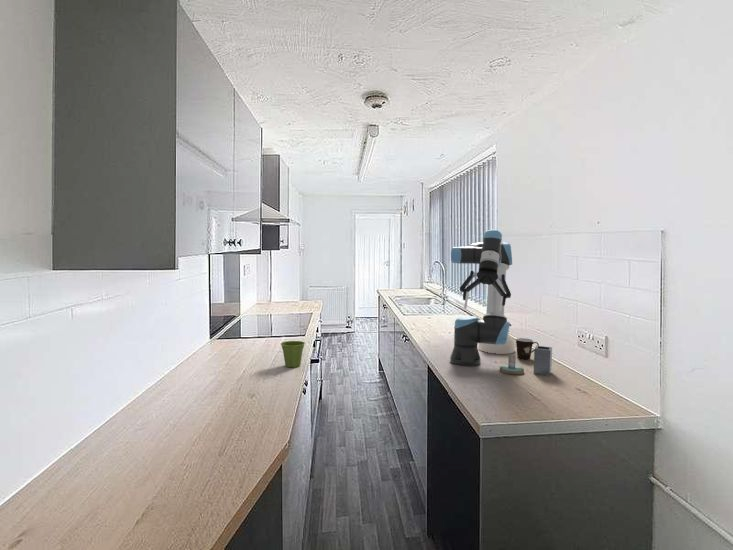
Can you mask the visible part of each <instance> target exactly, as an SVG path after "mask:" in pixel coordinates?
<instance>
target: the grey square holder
mask: <svg viewBox="0 0 733 550" xmlns="http://www.w3.org/2000/svg"><path fill="white" fill-rule="evenodd" d="M533 350H534V352H533V353H534V354H533V374H534V375H541V376H546V375H548V376H547V377H550V376H551V374H552V363H553V362H552V361H553V347H551V346H543V345H539V346H538V345H536V346H535V347H534V348H533Z"/></svg>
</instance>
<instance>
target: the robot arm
mask: <svg viewBox="0 0 733 550" xmlns="http://www.w3.org/2000/svg"><path fill="white" fill-rule="evenodd" d="M502 238H503V235H502V232H501V231H499V230H496V229H489V230H486V231H485V232H484V234H483V241H482V242H474V243H470V244H468V245H465V246H454V247H451V251H450V262H451V263H453V264H458V265H459V264H465V265H466V264H469V265H470V264H471V265H472V264H473V265H474V264H475V265H479V266H478V271H477V272H475V271H474V270H471V271H470V273H469V275H468V276H467V278H465V281H464V282H463V283H462V284H461V285H460V286H459V292H461V293H463V295H462V300H463V301H464V306H463V307H464V308H463V309H464V310H466V309H467V308H468V307H467V306H468V300H469V292H470V291H472V290H473V289H475V288H476V287H477V286H478V285H480V284H482V285H487V296H486V313H485V314H484V315H483V317H482V319H479V317H478V316H473V315H472V316H470V315H469V316H462V317H458V318H456V319H455V320H454V327H453V328H454V332H453V333H454V335H453V337H454V341H453V343H454V344H453V348H452V352H451V354H450V357H449V358H450V359H449V361H451V362H453V363H455V364H454V365H457V364H458V365H459V366H463V365H464V367H465V366H466V367H472V366H473V367H474V366H479V365H480V364H481V362H482V361H481V356H480V352H479V349H478V344H479V343H484V344H495V345H504V344H505V343H506V342H507V338H508V335H509V332H510V331H509V330H510V327H511V326H510V324H511V323H510V321H508V318H507V317H506V316H505V306H506V300H507V299H511V297H512V293H511V291H510V288H509V286H508V284H507V281H506V279H507V278H506V276H507V271H508V270H509V269H510V266H511V265H512V266H513V257H512V246H511V244H510V243H509V242H502V241H503V240H502ZM475 277H477V278H476V279H475V280H474V281H473V282H471V281H472V280H473V278H475ZM451 362H450V363H451ZM453 363H452V364H453ZM458 365H457V366H458Z"/></svg>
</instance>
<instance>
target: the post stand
mask: <svg viewBox="0 0 733 550" xmlns="http://www.w3.org/2000/svg"><path fill="white" fill-rule="evenodd" d="M516 356H517V355H515V354H514V353H510V354H509V355H508V359H507V360H508V364H505V365H500V366H499V373H501V374H505V375H508V376H509V375H511V376H521V375H524V374H525V368H523V367H521V366H519V365H516V362H517V361H516V358H517V357H516Z"/></svg>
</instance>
